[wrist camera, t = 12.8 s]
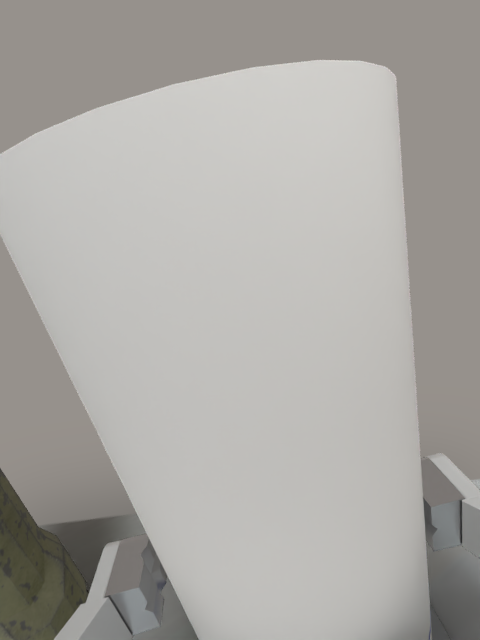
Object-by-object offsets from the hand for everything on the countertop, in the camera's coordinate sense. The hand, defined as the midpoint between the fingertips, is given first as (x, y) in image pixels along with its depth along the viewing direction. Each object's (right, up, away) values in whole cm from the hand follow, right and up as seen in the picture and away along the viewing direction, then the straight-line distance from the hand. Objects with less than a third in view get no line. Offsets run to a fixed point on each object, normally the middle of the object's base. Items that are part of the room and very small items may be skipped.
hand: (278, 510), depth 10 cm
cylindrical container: (+4, -14, +4) cm, 15 cm away
